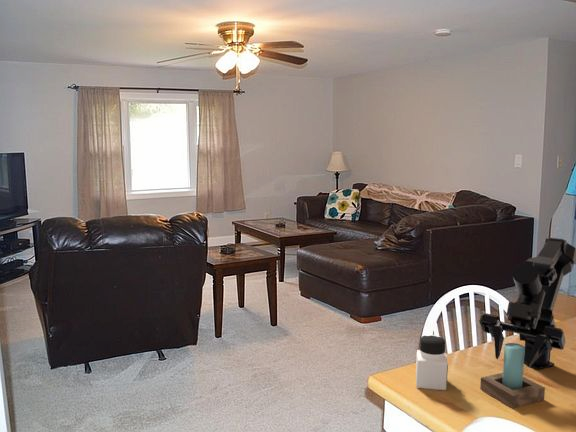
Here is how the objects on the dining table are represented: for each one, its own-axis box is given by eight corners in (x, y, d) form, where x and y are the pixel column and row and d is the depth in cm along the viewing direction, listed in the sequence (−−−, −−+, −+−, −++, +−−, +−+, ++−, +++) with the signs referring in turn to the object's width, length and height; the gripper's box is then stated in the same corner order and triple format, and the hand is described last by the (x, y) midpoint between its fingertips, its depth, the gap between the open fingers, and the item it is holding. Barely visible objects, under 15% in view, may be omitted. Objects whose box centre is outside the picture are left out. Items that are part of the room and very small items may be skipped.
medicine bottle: (446, 391, 130) (449, 344, 129) (416, 388, 132) (418, 341, 130) (444, 378, 137) (446, 333, 135) (415, 375, 139) (417, 331, 137)
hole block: (510, 381, 135) (511, 370, 135) (544, 399, 126) (545, 387, 126) (480, 389, 131) (480, 377, 131) (512, 408, 122) (513, 395, 122)
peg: (504, 388, 132) (508, 341, 130) (523, 393, 129) (527, 346, 127) (499, 394, 129) (502, 347, 127) (518, 400, 126) (522, 351, 124)
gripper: (484, 281, 134) (465, 337, 127) (566, 295, 122) (551, 357, 115) (492, 304, 141) (475, 357, 134) (571, 319, 130) (556, 379, 123)
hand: (512, 362), depth 126 cm, fingers open, 7 cm apart
